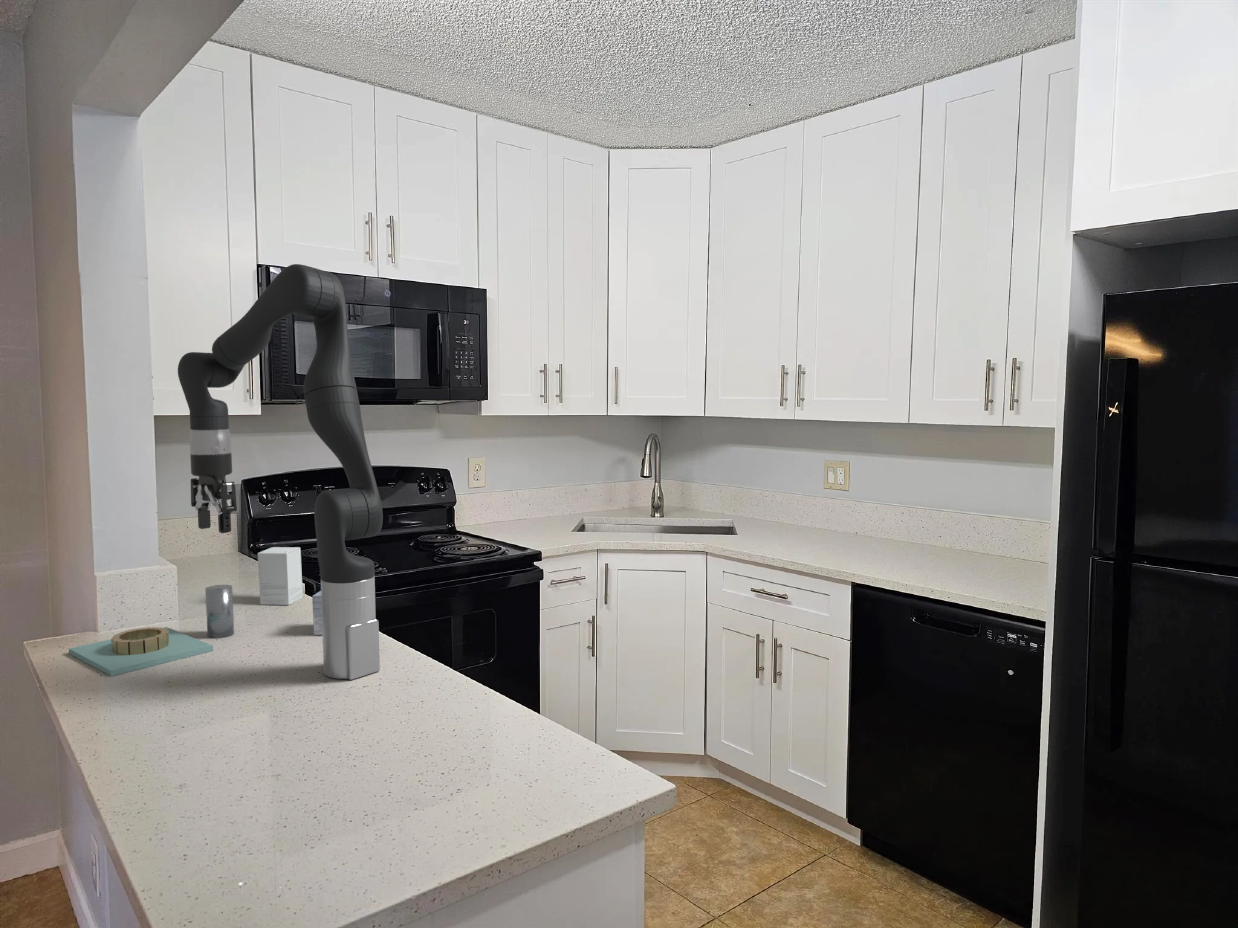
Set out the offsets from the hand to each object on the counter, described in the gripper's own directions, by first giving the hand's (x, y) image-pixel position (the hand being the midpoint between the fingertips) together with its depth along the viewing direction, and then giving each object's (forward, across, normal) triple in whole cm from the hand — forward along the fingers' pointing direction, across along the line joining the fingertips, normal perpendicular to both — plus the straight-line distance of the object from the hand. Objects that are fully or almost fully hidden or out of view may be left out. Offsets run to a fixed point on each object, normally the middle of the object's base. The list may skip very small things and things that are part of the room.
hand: (214, 530), depth 167 cm
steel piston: (+22, 0, 0) cm, 22 cm away
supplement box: (+22, +15, -22) cm, 35 cm away
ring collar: (+22, +1, +15) cm, 26 cm away
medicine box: (+22, -15, -16) cm, 31 cm away
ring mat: (+22, +1, +15) cm, 26 cm away
